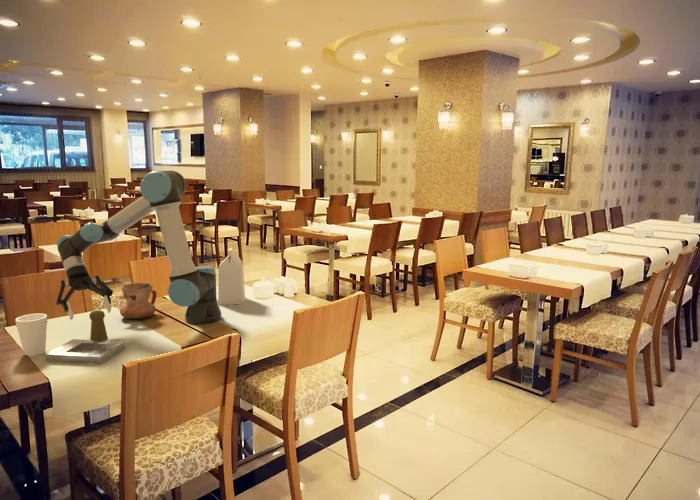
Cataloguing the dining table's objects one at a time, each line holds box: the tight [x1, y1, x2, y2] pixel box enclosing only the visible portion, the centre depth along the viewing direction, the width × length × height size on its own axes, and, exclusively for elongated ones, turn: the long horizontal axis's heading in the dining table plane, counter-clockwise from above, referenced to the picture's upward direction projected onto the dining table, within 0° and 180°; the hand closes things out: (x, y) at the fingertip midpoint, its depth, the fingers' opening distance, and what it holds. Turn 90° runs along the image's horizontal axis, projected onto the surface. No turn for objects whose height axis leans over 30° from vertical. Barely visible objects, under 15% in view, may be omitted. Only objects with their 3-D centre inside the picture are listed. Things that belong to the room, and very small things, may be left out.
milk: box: [217, 247, 246, 306], centre depth 244 cm, size 12×12×26 cm
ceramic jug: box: [118, 282, 157, 320], centre depth 219 cm, size 18×14×14 cm
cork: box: [89, 309, 109, 341], centre depth 191 cm, size 6×6×11 cm
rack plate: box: [44, 338, 126, 365], centre depth 176 cm, size 20×15×2 cm
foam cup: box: [15, 312, 48, 357], centre depth 176 cm, size 10×9×13 cm
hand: (91, 314), depth 193 cm, fingers open, 13 cm apart
